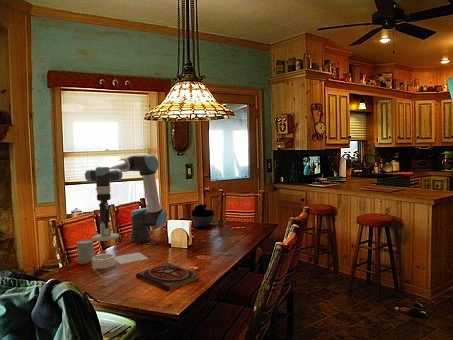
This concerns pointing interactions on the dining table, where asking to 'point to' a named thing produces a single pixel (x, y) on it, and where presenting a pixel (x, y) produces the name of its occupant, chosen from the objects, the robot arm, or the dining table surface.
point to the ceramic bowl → (103, 261)
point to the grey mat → (130, 258)
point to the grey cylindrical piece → (85, 251)
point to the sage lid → (105, 237)
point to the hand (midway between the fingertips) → (105, 233)
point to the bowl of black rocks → (202, 216)
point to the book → (168, 276)
